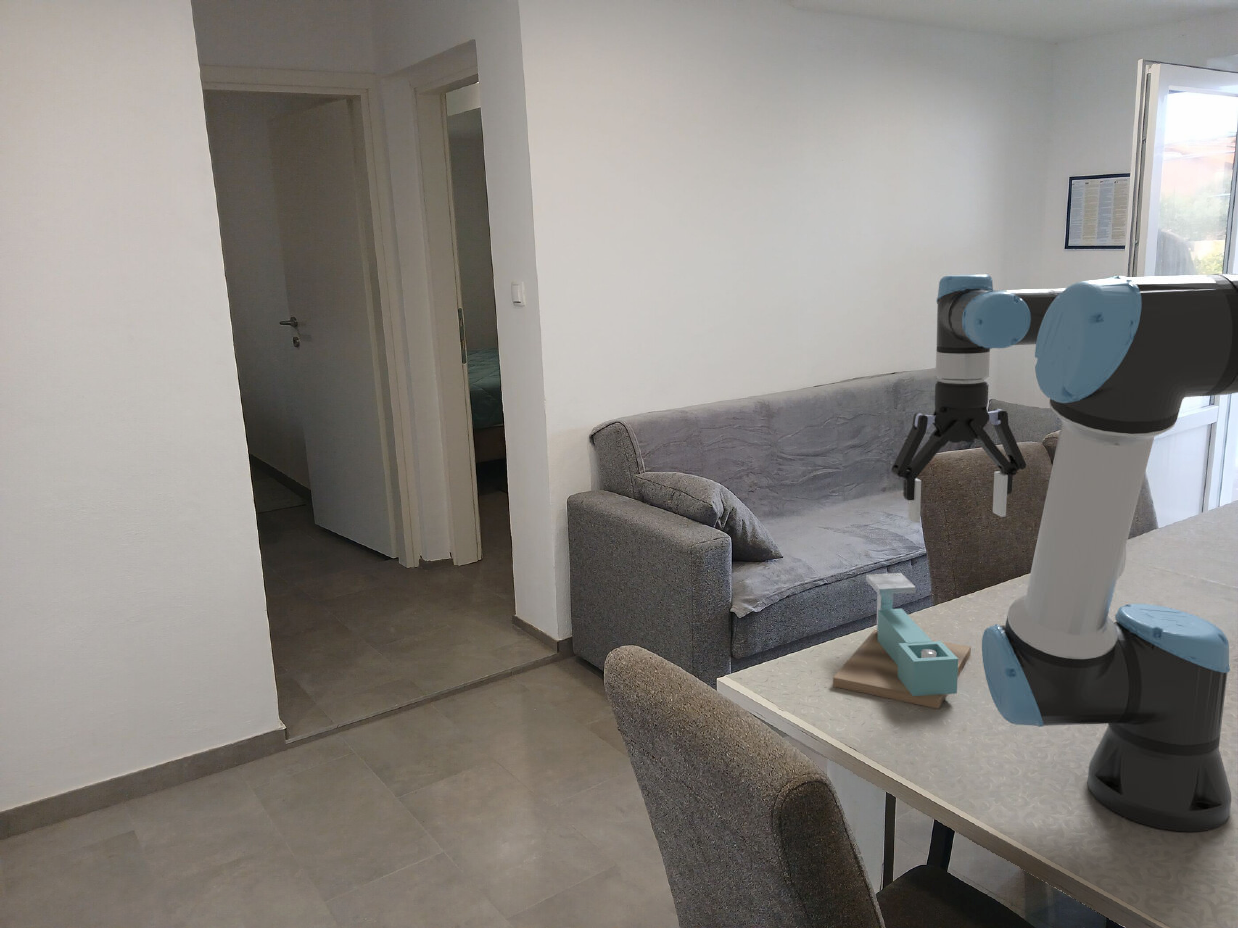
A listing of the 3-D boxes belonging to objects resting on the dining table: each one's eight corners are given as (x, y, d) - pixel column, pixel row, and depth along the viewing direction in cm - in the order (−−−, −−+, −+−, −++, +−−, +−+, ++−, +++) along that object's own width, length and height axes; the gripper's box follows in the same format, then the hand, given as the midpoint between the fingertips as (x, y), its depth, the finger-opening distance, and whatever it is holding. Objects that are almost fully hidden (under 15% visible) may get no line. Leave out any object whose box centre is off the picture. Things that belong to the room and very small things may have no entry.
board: (938, 708, 140) (938, 699, 140) (832, 686, 148) (833, 677, 148) (970, 655, 157) (970, 646, 157) (874, 637, 166) (874, 629, 165)
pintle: (932, 699, 143) (934, 656, 141) (918, 696, 144) (919, 653, 142) (936, 693, 144) (938, 650, 143) (921, 690, 146) (923, 648, 144)
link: (956, 693, 141) (958, 658, 140) (912, 696, 141) (913, 661, 140) (908, 638, 161) (909, 608, 160) (869, 641, 161) (870, 610, 159)
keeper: (913, 655, 158) (915, 586, 155) (877, 657, 158) (879, 589, 155) (899, 638, 165) (901, 572, 162) (864, 640, 164) (866, 574, 162)
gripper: (1028, 372, 147) (1021, 506, 152) (871, 381, 145) (869, 516, 149) (1055, 378, 140) (1047, 518, 144) (890, 387, 138) (887, 529, 142)
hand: (956, 517), depth 147 cm, fingers open, 13 cm apart
